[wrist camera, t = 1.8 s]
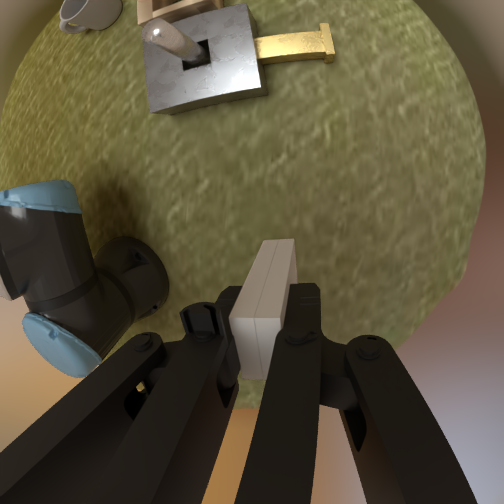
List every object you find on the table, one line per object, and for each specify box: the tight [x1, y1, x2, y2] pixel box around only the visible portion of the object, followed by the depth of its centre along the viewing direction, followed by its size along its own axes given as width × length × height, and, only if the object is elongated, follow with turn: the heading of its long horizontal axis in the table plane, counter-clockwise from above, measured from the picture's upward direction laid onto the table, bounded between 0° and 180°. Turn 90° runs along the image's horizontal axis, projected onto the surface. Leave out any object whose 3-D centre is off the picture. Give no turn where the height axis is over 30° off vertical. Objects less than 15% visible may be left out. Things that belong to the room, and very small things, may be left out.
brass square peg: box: [255, 23, 335, 65], centre depth 27 cm, size 10×4×4 cm, turn 98°
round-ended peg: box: [142, 18, 211, 67], centre depth 24 cm, size 3×3×16 cm
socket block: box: [143, 3, 268, 115], centre depth 29 cm, size 14×12×6 cm
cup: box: [59, 0, 122, 34], centre depth 25 cm, size 7×10×9 cm
